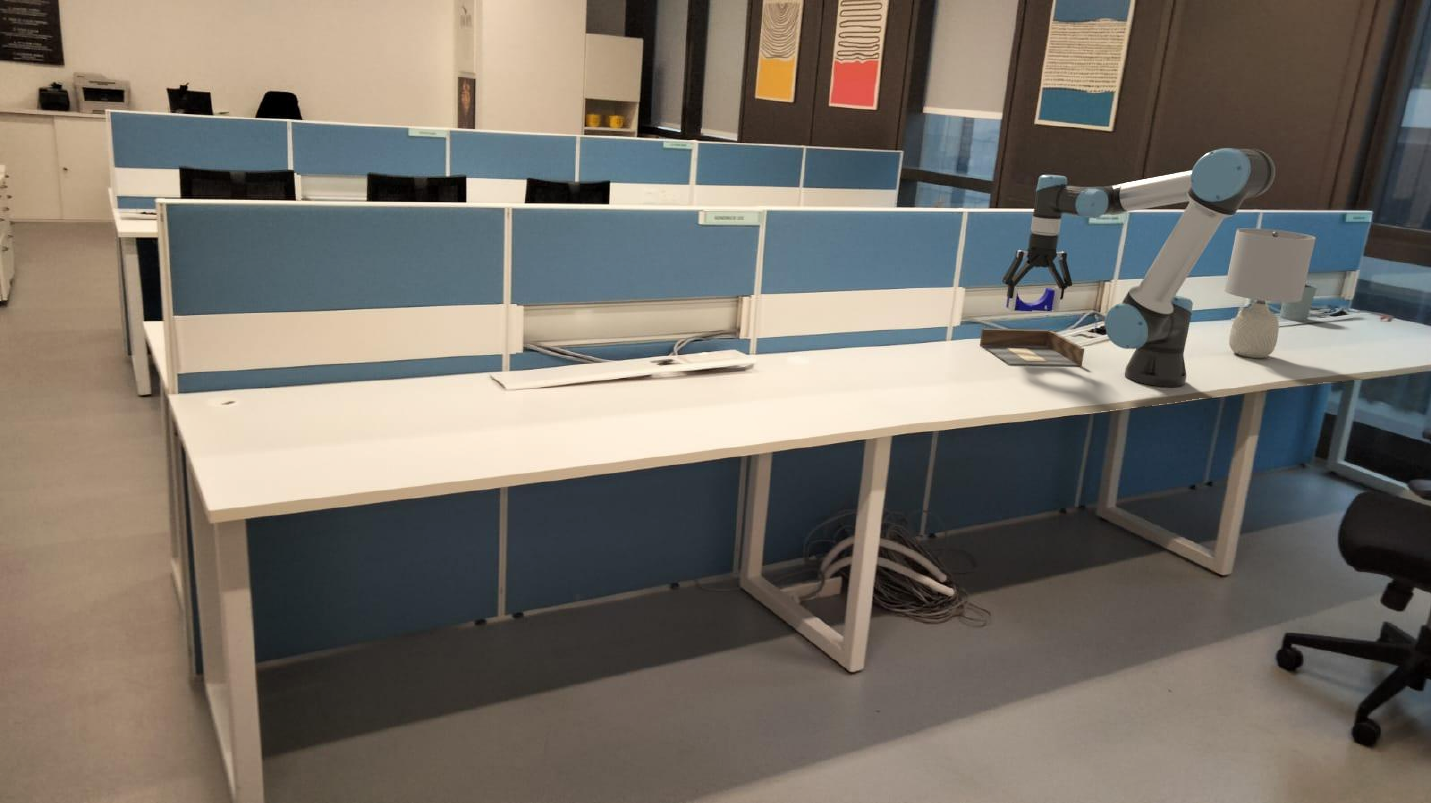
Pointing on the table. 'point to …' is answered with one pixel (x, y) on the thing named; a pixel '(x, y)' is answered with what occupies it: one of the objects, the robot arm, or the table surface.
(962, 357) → the table surface
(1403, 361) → the table surface
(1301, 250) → the lamp
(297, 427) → the table surface
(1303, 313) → the grey tapered pot
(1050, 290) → the blue u-shaped bracket
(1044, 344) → the corner arena
